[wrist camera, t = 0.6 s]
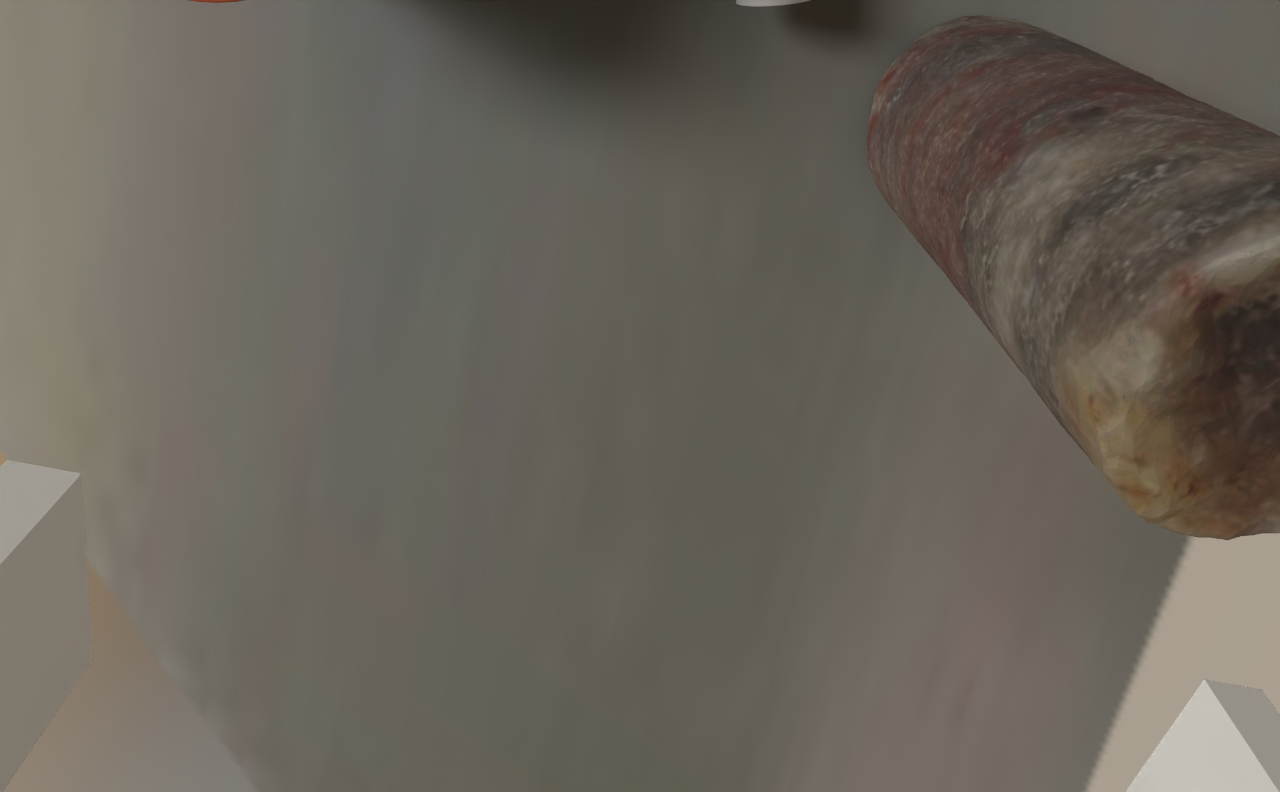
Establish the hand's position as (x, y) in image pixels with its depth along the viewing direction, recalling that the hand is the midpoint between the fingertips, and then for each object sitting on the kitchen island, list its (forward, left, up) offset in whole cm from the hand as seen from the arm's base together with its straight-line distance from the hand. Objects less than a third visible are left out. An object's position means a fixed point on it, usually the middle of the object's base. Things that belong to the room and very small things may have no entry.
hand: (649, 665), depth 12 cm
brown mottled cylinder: (+1, +11, -26) cm, 28 cm away
